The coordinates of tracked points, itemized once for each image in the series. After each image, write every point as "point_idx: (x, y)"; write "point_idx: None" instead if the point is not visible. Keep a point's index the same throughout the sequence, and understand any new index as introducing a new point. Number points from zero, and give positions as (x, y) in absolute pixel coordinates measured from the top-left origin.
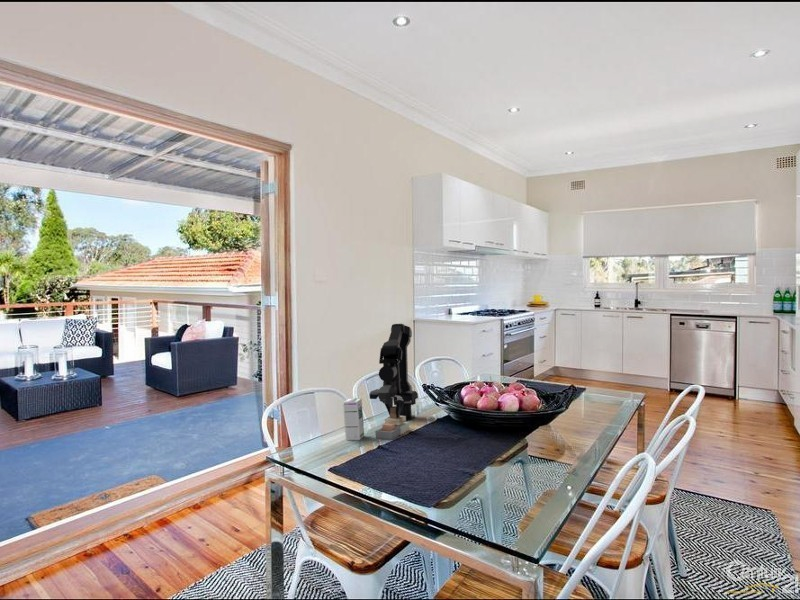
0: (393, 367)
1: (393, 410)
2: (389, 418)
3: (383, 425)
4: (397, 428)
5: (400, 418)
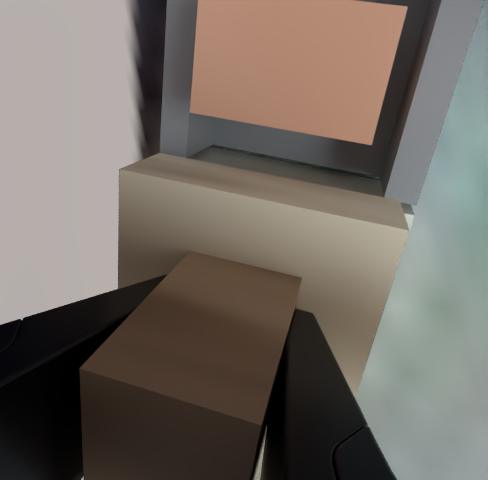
0: None
1: (173, 347)
2: (318, 268)
3: (377, 3)
4: (177, 103)
5: (126, 260)
